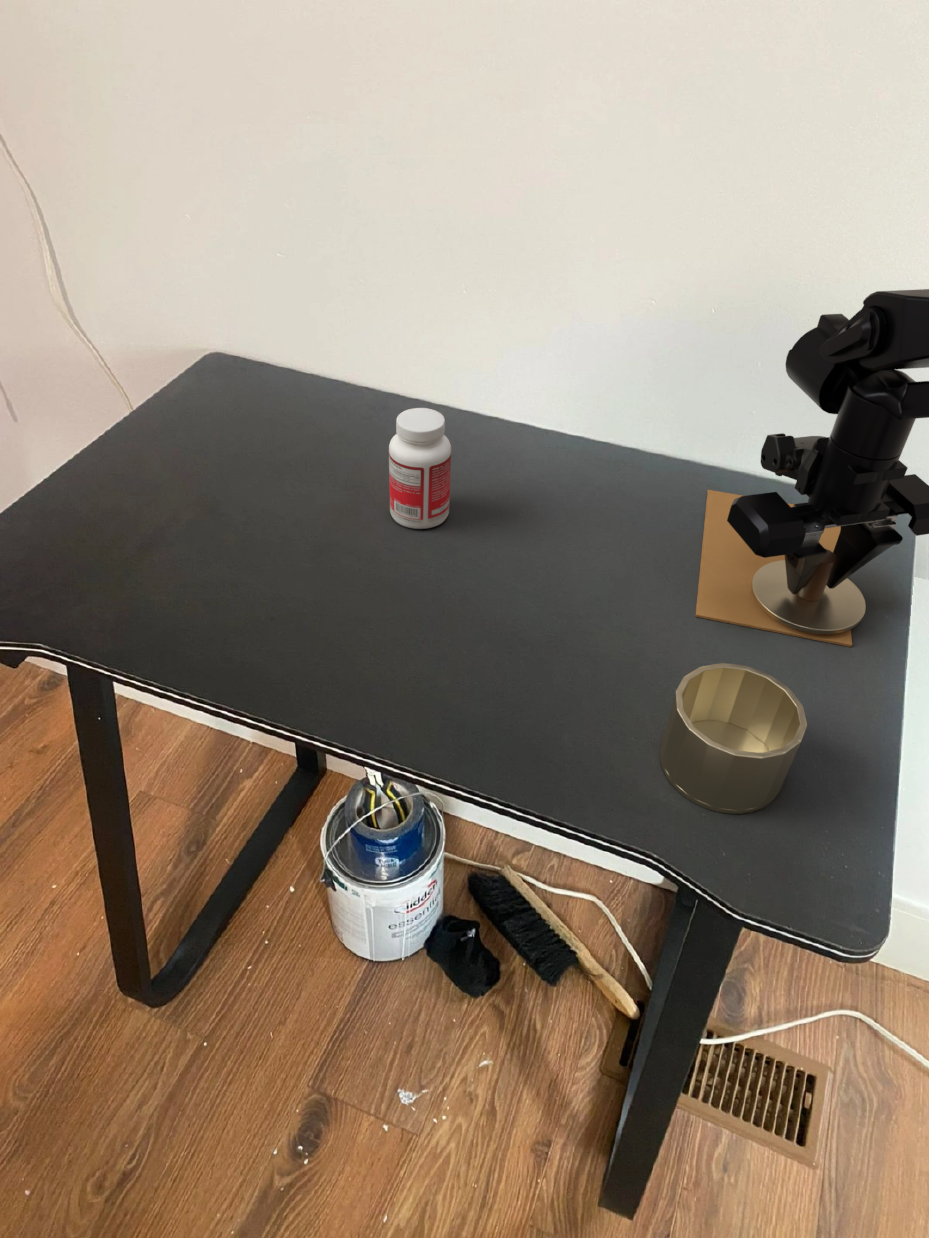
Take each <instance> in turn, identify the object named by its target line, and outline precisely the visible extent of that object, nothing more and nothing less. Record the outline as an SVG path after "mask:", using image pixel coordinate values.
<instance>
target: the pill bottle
mask: <svg viewBox="0 0 929 1238" xmlns="http://www.w3.org/2000/svg"><path fill="white" fill-rule="evenodd" d="M395 421H396V422H395V423H396V425H395V426H396V427H395V429H396V430H395V431H396V433H395V434H394V435H393V436H392V438H391V439H390V441H389V444H388V472H389V473H388V475H389V476H388V477H389V478H388V479H389V481H388V482H389V512H390V515H391V517H392V519H393V520H394V521H395V522H396V523H397V524H399V525H401V526H403V527H405V528H408V529H415V530H423V529H425V530H426V529H431V528H434V527H437V526H440V525H441V524H443V523H444V522H445V521H446V519H447V518H448V516H449V514H450V506H451V505H450V502H451V472H452V471H451V468H452V467H451V466H452V445H451V442H450V440H449V438H448V437H447V436H446V434H445V431H446V420H445V416H444V415H443V414H442V413H441V412H440V411H438V410H435V409H433V408H432V409H431V408H427V407H414V408H409V409H405V410H404V411H402V412H400V413H399V414H398V415H397V417H396V419H395Z"/></svg>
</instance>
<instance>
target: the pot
mask: <svg viewBox="0 0 929 1238" xmlns="http://www.w3.org/2000/svg"><path fill="white" fill-rule="evenodd" d="M806 718H807V717H806V713H805V709H804V706H803V704H802V702H801V701H800V700H799V699H798V698H797V696H796V695H795V694H794V692H793V690H791V688H790V687H788V686H787V685H785V684H784V683H783V682H781V681H780V680H778V679H777V678H775V677H774V676H773V675H771V674H770V673H767V672H765V671H761V670H759V669H756V668H753V667H750V666H748V665H743V664H736V663H735V664H734V663H726V662H719V663H713V664H709V665H703V666H699V667H697V668H695V669H694V670H692V671H691V672H689V673H688V674H686V675H685V676H683V677H682V679H681V681H680V683H679V685H678V686H677V688H676V690H675V693H674V697H673V700H672V703H671V707H670V710H669V714H668V718H667V721H666V724H665V728H664V732H663V734H662V739H661V742H660V749H659V750H660V752H659V759H660V765H661V768H662V772H663V773H664V775H665V777H666V778H667V781H668V782H669V783H670V784H671V786H672V787H673V788H674V789H675V790H676V791H677V792H678V793H679V794H681V796H683V797H684V798H686V799H687V800H689V801H690V802H692V803H693V804H695V805H698V806H699V807H702V808H703V809H707V810H710V811H713V812H717V813H721V814H730V815H740V814H741V815H742V814H749V813H752V812H756V811H759V810H761V809H764V808H765V807H767V806H769V805H770V804H771V803H772V802H773V801H774V800H775V799H776V797H777V796H778V795H779V794H780V792H781V789H782V787H783V785H784V782H785V780H786V778H787V776H788V773H789V771H790V769H791V766H792V764H793V761H794V759H795V758H796V754H797V752H798V750H799V748H800V746H801V743H802V741H803V738H804V736H805V733H806V730H807V727H808V722H807V719H806Z"/></svg>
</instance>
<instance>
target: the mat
mask: <svg viewBox="0 0 929 1238" xmlns="http://www.w3.org/2000/svg"><path fill="white" fill-rule="evenodd" d="M741 496H743V495H742V494H736V493H730V492H725V491H718V490H714V489H707V494H706V504H705V512H704V513H705V514H704V524H703V533H702V545H701V553H700V554H701V555H700V564H699V565H700V566H699V576H698V586H697V596H696V606H695V615H694V617H695V618H700V619H705V620H710V621H714V622H720V623H726V624H731V625H735V626H740V627H746V628H751V629H757V630H761V631H766V632H771V633H776V634H782V635H787V636H792V637H797V638H802V639H806V640H807V639H808V640H812V641H818V642H823V643H829V644H833V645H837V646H842V647H843V646H844V647H849V648H852V646H853V638H852V629H850V630H847V631H845V632H841V633H835V634H816V633H809V632H805V631H801V630H798V629H794V628H792V627H789V626H787V625H785V624H783V623H781V622H779V621H777V620H775V619H774V618H772V617H771V616H769V615H768V614H767V613H766V612H765V611H764V610H762V608H761V607H760V606H759V605H758V604H757V602H756V601H755V599H754V597H753V594H752V590H751V584H752V580H753V577H754V575H755V573H756V572H757V571H758V570H759V569H760V568H761V567H763V566H764V565H766V564H769V563H772V562H775V561H780V560H785V555H780V556H774V557H767V558H764V557H761V556H758V555H755V554H754V552H753V551H752V550H751V549H750V548H749V546H748V545H747V544H746V543H745V542H744V540H743V539H742V538H741V537H740V536H739V535H738V533H737V532H736V531H735V530H734V529H733V527H732V526H731V525H730V524H729V523H728V521H727V519H728V515H729V512H730V508H731V505H732V503H733V501H734V499H736V498H739V497H741ZM786 503H787V504H788V505H789V506H790V507H794V503H788V502H786ZM840 530H841V526H839V527H832V528H825V530H824V532H823V533H822V535H821V537H820V540H819V543H820V544H821V545H822V546H823V547H824V548H825V549H828V550H830V551H832V552H833V551H834V548H835V545H836V542H837V540H838V537H839V534H840Z"/></svg>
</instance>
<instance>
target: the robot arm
mask: <svg viewBox="0 0 929 1238" xmlns="http://www.w3.org/2000/svg"><path fill="white" fill-rule="evenodd" d="M862 304H863V306H862V308H861V309H859V311H857V312H856V313H855V314H854V315H853V316H852V317H851V318H850V319H849V318H847V317H846V316H845V315H844V314H843V313H829V314H827V313H825V314H821V315H820V316H819V319H818V322H817V324H816V325H817V326H815V327H813V328H812V329H809V330H808V331H806V333H804V334H803V335H801V336H800V337H799V338H798V340H797V341H796V342H795V343H794V344H793V346H792V348H791V349H789V350H788V352H787V354H786V359H785V372H786V374H787V376H788V378H789V379H790V380H791V382H793V383H794V384H795V385H796V386H797V387H798V388H799V389H800V390H801V391H802V392H803V393H804V394H805V395H806V396H807V397H808V398H809V399H811V400H812V402H814V404H816V405H817V407H819V409H820V410H822V411H823V412H825V413H827V414H829V415H830V414H831V415H836V418H835V421H834V424H833V426H832V430H831V432H830V435H829V436H821V435H808V436H799V437H798V436H797V437H794V435H786V433H784V432H783V433H782V432H780V433H773V434H772V433H771V434H767V435H766V438H765V441H764V443H763V445H762V448H761V450H760V451H761V452H760V465H761V467H762V469H763V470H766V471H769V472H772V473H774V474H775V476H777V477H786V478H788V479H792V480H795V481H796V482H795V485H794V489H795V490H796V491H797V492H798V494H800V495H801V496H806V497H808V500H807V502H800V503H795V504H794V503H793V504H794V507H790V506H789V505H788V504H787V503H788V502H787V501H786V500H785V499H784V498H783V497H782V495H780V494H779V493H778V492H777V491H772V492H763V493H756V494H755V493H754V494H749V495H748V494H747V495H742V496H741V497H739V498H736V499H734V501H733V503H732V505H731V508H730V512H729V515H728V519H727V521H728V523H729V524H730V525H731V526H732V527H733V529H734V530H735V531H736V532H737V533H738V535H739V536H740V537H741V538H742V539H743V540H744V542H745V543H746V544H747V545H748V546H749V548H750V549H751V550H752V551H753V552H754V554H755V555H758V556H761V557H764V558H767V557H774V556H780V555H785V565H786V576H787V587H788V589H789V590H790V592H791V593H792V594H797V593H798V592H799V591H800V590H801V589H802V588H803V587H804V585H805V584H806V582H807V581H808V580H809V578H810V577H811V575H812V574H813V572H814V571H815V569H816V568H817V566H818V565H819V564H820V562H821V561H822V559H823V558H824V556H825V555H826V553H827V550H826V549H825V548H824V547H823V546H822V545H821V544H820V543H819V540H820V537H821V535H822V533H823V532H824V530H825V528H832V527H839V526H840V527H841V530H840V534H839V537H838V540H837V542H836V545H835V548H834V551H833V553H834V554H835V555H836V562H835V564H834V567H833V569H832V572H831V575H830V577H829V580H828V582H827V586H828V587H829V588H830V589H832V588H835V587H836V586H837V585H839V584H840V583H841V582H843V581H844V580H845V579H847V578H848V579H849V577H851V576H852V575H854V573H856V572H857V571H858V570H860V569H861V568H862V567H864V566H865V565H867V564H868V563H869V562H871V561H872V560H874V559H875V558H877V557H878V556H880V555H882V553H884V552H886V551H887V550H889V549H890V548H892V547H893V546H896V545H900V544H901V543H902V542H903V539H904V537H903V536H902V535H901V533H899V532H898V531H897V530H896V529H895V528H896V526H897V522H896V521H897V519H898V517H899V515H909V516H910V517H911V518H910V520H909V522H908V525H907V527H908V529H910V531H911V533H913V534H914V535H915V536H924V535H929V484H928V483H926V482H925V481H924V480H923V479H922V478H921V477H920V476H918V475H917V474H916V473H913V474H906V473H907V470H908V466H907V465H905V463H903V462H902V461H901V460H900V458H901V455H902V453H903V450H904V448H905V445H906V444H907V441H908V439H909V436H910V434H911V432H912V429H913V426H914V424H915V421H916V419H928V418H929V380H923V381H921V380H920V381H916V380H915V379H913V378H912V377H911V376H909V375H908V373H906V372H904V371H902V370H908V369H909V370H911V369H925V368H929V288H923V289H922V288H920V289H899V290H898V289H897V290H877V291H875V292H871V293H870V294H869V295H867V297H865V299H863V302H862Z"/></svg>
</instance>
